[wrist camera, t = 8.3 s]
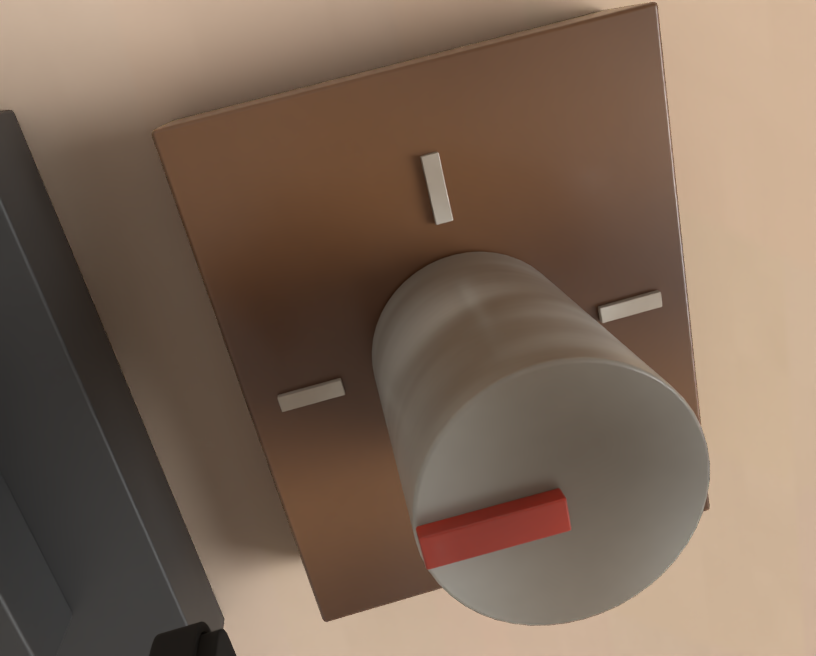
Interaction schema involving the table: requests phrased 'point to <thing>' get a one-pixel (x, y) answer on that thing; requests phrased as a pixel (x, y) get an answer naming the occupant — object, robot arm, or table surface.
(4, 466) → the keyboard block
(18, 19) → the table surface
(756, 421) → the table surface
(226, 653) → the robot arm
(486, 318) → the volume knob
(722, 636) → the table surface
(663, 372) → the volume panel
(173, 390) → the table surface
